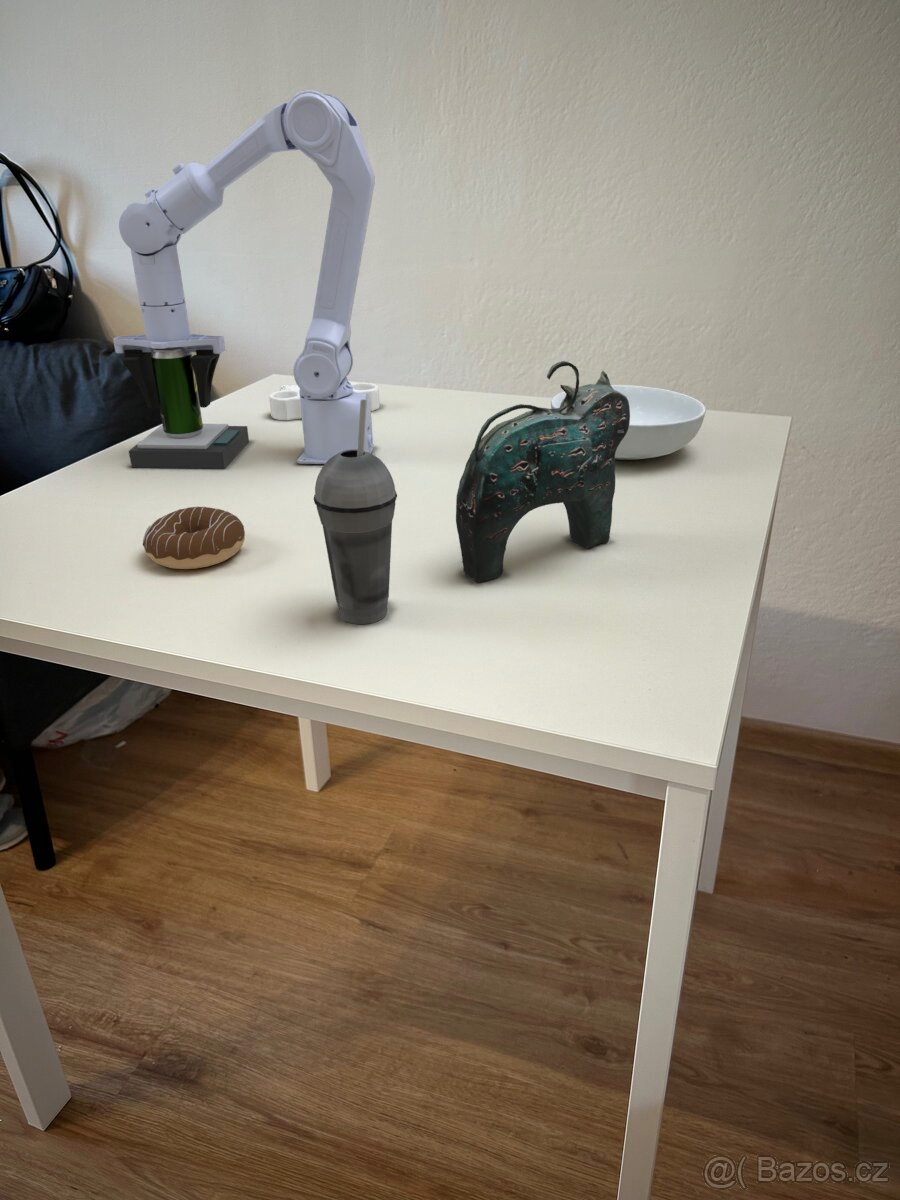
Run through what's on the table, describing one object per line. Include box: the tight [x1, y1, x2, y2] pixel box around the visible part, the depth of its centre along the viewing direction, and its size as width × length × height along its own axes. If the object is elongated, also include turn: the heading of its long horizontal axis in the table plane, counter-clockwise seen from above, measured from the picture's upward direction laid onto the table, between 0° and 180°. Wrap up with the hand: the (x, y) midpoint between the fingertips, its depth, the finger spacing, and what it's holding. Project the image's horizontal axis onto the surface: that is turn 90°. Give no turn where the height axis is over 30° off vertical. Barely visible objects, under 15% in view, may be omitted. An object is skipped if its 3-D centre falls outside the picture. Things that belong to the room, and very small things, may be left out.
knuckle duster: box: [268, 380, 381, 421], centre depth 142 cm, size 3×18×15 cm
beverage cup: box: [313, 399, 398, 625], centre depth 76 cm, size 7×7×20 cm
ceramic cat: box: [455, 360, 630, 584], centre depth 86 cm, size 20×6×20 cm, turn 124°
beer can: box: [151, 347, 204, 439], centre depth 118 cm, size 5×5×12 cm
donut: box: [142, 506, 246, 570], centre depth 92 cm, size 11×11×4 cm
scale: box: [128, 423, 250, 470], centre depth 122 cm, size 13×12×3 cm
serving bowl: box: [550, 384, 707, 461], centre depth 120 cm, size 21×21×7 cm
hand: (179, 405), depth 119 cm, fingers open, 7 cm apart
